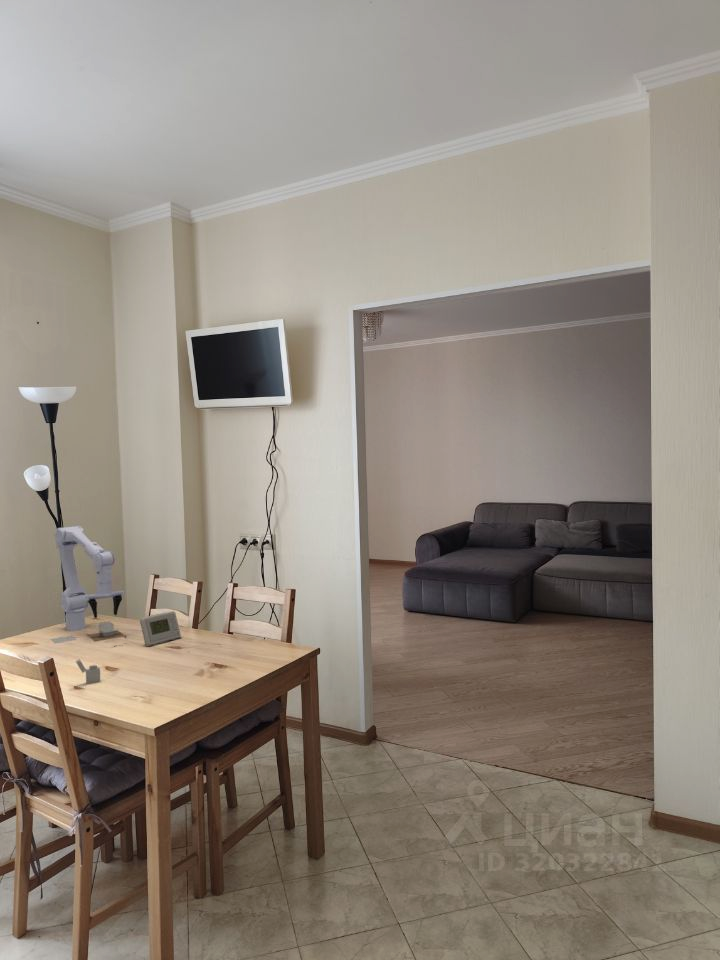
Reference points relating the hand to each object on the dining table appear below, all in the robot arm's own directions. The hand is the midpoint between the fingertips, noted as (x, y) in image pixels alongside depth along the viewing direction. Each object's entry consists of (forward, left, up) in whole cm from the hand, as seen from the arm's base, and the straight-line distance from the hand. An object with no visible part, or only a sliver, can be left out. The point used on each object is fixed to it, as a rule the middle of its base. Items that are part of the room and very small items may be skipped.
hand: (105, 616), depth 275 cm
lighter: (+51, -19, -10) cm, 55 cm away
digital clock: (+17, +16, -10) cm, 26 cm away
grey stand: (-5, -15, -9) cm, 18 cm away
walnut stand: (0, 0, -9) cm, 9 cm away
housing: (+1, 0, -8) cm, 8 cm away
